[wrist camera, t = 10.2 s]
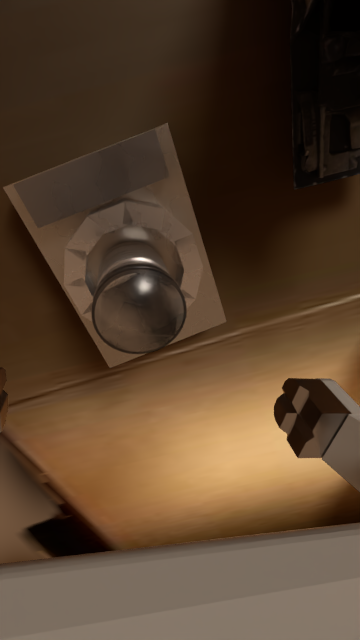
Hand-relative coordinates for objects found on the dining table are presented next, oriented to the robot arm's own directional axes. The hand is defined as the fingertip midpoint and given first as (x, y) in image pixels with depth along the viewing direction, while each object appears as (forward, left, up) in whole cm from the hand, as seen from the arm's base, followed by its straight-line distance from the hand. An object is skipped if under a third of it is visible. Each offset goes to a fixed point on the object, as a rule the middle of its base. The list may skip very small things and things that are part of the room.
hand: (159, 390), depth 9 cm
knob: (+1, 0, -13) cm, 13 cm away
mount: (0, 0, -16) cm, 16 cm away
